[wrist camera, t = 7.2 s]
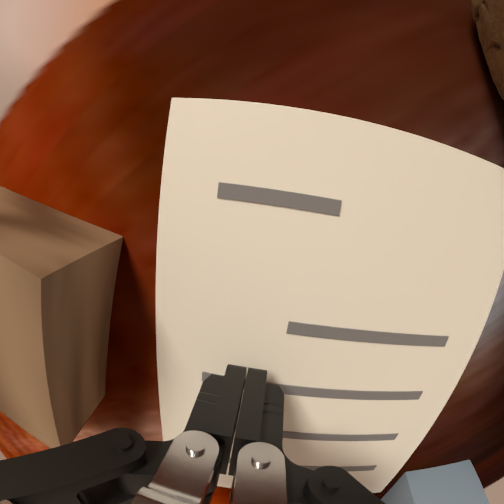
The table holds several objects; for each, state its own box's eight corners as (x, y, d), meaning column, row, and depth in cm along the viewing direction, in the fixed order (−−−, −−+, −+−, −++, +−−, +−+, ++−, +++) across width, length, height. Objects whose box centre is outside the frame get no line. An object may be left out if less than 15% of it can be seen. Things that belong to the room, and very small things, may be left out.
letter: (517, 176, 9) (522, 177, 8) (380, 488, 14) (380, 492, 14) (175, 99, 9) (171, 97, 9) (168, 471, 15) (167, 475, 14)
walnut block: (126, 235, 11) (41, 278, 6) (107, 392, 14) (62, 455, 9) (-5, 182, 11) (-78, 196, 6) (-3, 322, 14) (-53, 358, 9)
